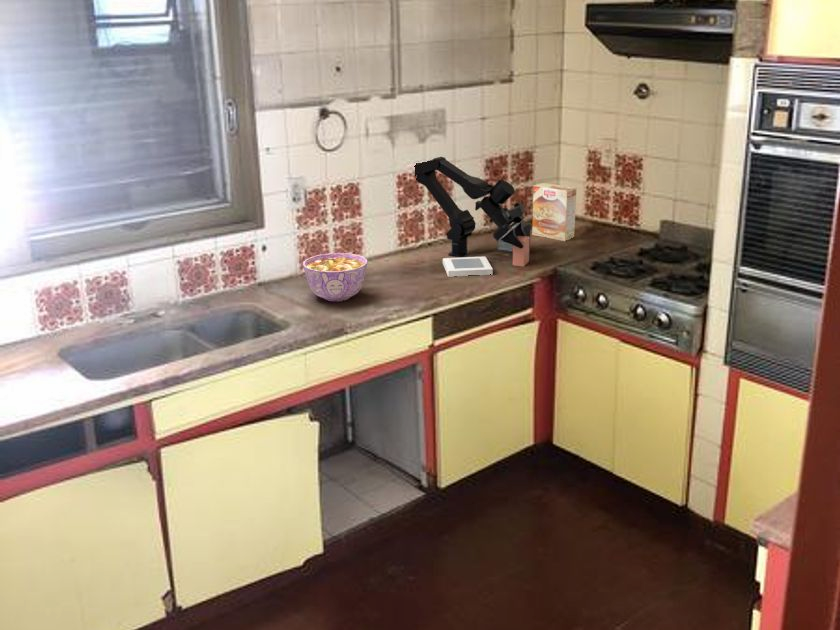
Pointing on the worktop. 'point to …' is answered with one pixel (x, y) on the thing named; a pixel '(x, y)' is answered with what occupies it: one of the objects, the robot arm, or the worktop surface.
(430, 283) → the worktop surface
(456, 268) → the base plate
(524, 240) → the slim brick
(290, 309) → the worktop surface
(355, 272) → the bowl of food
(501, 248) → the small box
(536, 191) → the coffeecake box
